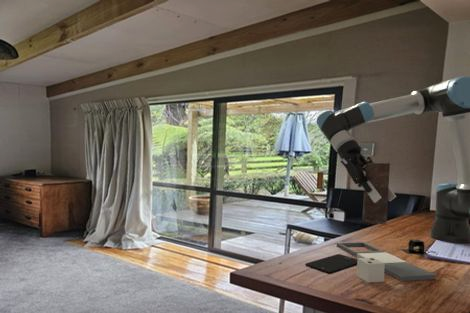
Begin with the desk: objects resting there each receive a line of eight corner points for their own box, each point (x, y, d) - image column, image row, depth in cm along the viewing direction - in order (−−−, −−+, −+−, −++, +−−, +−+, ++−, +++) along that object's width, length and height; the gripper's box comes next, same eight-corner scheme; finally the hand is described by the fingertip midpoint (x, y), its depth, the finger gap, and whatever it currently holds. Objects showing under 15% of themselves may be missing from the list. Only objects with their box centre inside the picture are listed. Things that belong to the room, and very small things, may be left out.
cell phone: (363, 263, 110) (363, 260, 110) (329, 275, 98) (329, 272, 98) (338, 256, 116) (338, 253, 116) (304, 266, 105) (304, 263, 105)
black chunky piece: (404, 255, 120) (404, 242, 120) (393, 249, 127) (394, 237, 127) (439, 256, 121) (439, 243, 121) (426, 250, 128) (427, 238, 128)
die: (372, 275, 99) (373, 257, 99) (383, 281, 94) (384, 263, 94) (356, 276, 97) (357, 257, 97) (367, 282, 93) (368, 263, 93)
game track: (363, 245, 130) (363, 242, 130) (435, 278, 97) (435, 274, 97) (336, 246, 128) (336, 242, 127) (401, 281, 94) (401, 276, 94)
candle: (378, 227, 107) (383, 163, 106) (357, 222, 113) (361, 161, 112) (390, 225, 112) (394, 163, 111) (369, 220, 118) (373, 161, 117)
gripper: (357, 154, 130) (395, 204, 117) (319, 152, 119) (357, 208, 106) (370, 140, 125) (411, 191, 113) (333, 137, 114) (374, 193, 101)
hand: (385, 199), depth 109 cm, fingers closed on candle, 7 cm apart
